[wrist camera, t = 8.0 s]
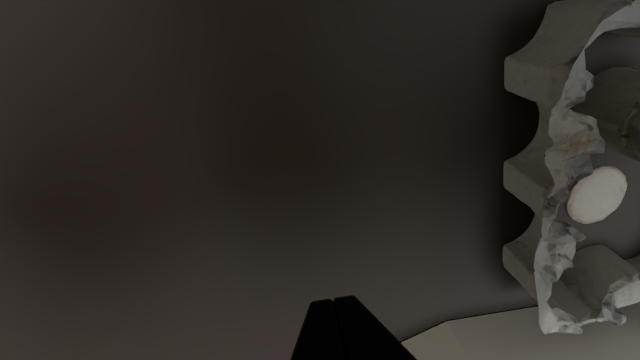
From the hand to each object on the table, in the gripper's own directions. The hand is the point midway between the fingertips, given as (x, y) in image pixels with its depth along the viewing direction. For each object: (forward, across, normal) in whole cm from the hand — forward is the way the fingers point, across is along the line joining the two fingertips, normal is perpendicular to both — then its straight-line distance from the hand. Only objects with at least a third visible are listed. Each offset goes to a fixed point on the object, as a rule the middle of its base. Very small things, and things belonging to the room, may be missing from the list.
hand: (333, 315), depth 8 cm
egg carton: (+6, -10, 0) cm, 11 cm away
